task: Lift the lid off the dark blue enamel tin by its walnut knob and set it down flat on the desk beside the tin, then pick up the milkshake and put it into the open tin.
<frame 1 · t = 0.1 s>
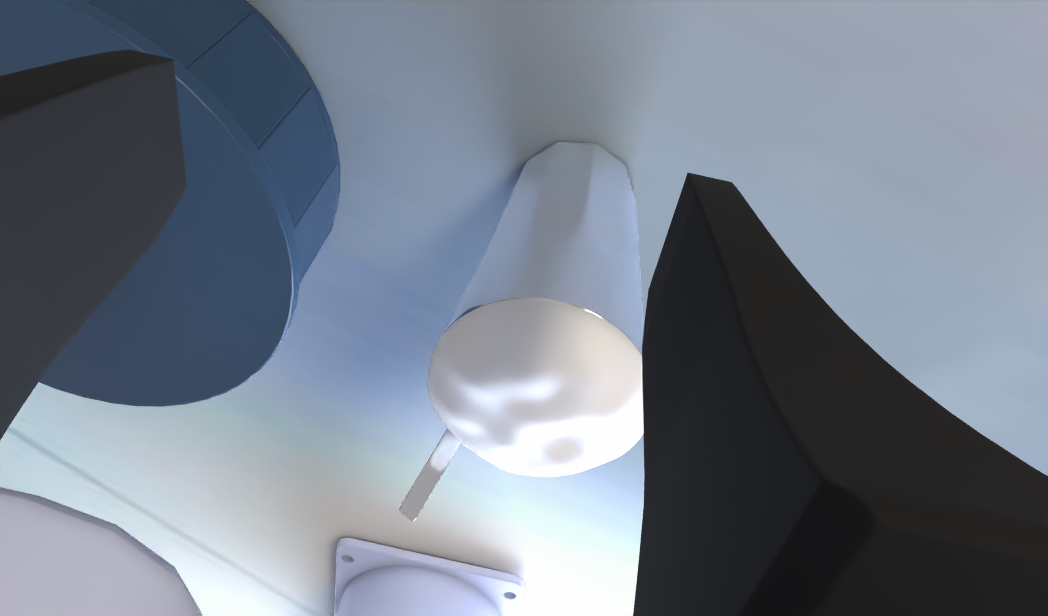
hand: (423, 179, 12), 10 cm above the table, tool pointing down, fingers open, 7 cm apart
milkshake: (564, 195, 23), on the table
lid: (64, 219, 20), point 4 cm above the table, touching tin
tin: (152, 138, 24), on the table
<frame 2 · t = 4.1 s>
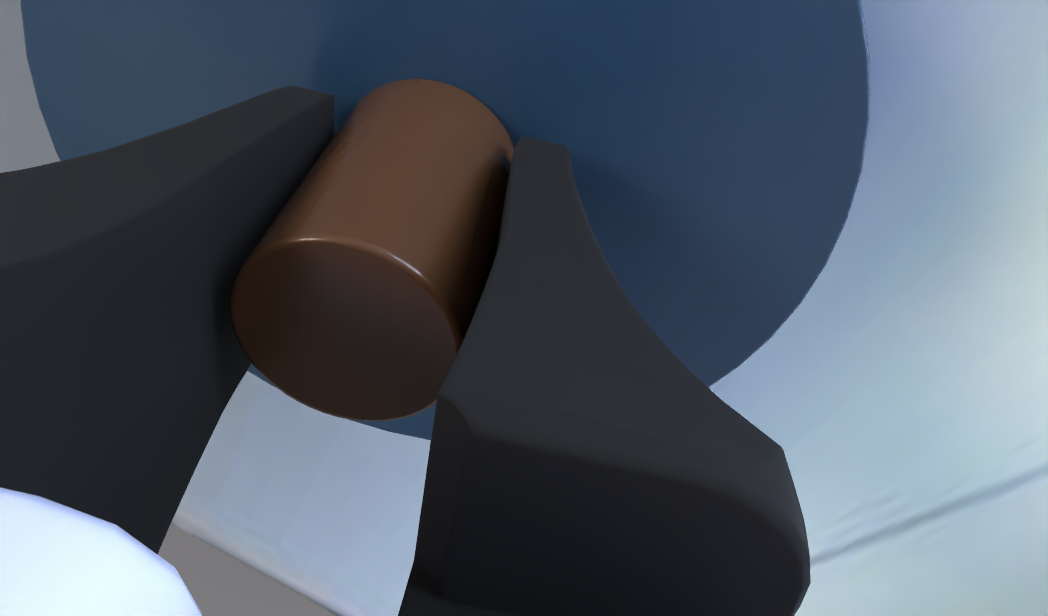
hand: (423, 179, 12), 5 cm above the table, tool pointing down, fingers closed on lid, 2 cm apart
lid: (437, 146, 12), point 4 cm above the table, touching gripper, tin
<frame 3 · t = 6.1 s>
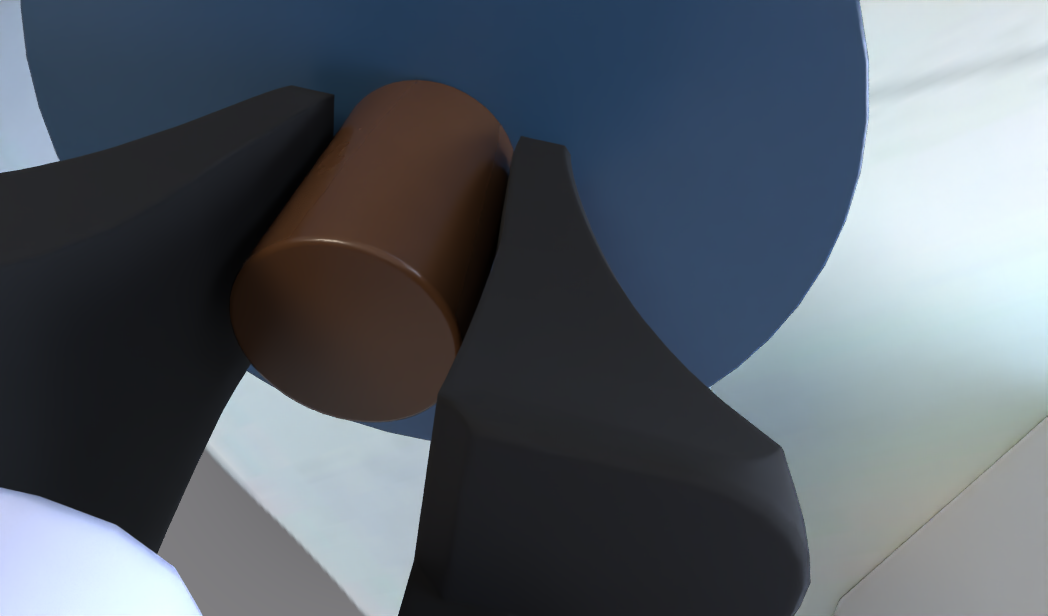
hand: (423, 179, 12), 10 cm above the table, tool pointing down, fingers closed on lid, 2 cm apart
lid: (437, 147, 12), point 9 cm above the table, touching gripper
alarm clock: (1030, 540, 29), on the table
when the fingers open (2 cm above the table, at t = 8.5 s): lid stays where it is, point 1 cm above the table.
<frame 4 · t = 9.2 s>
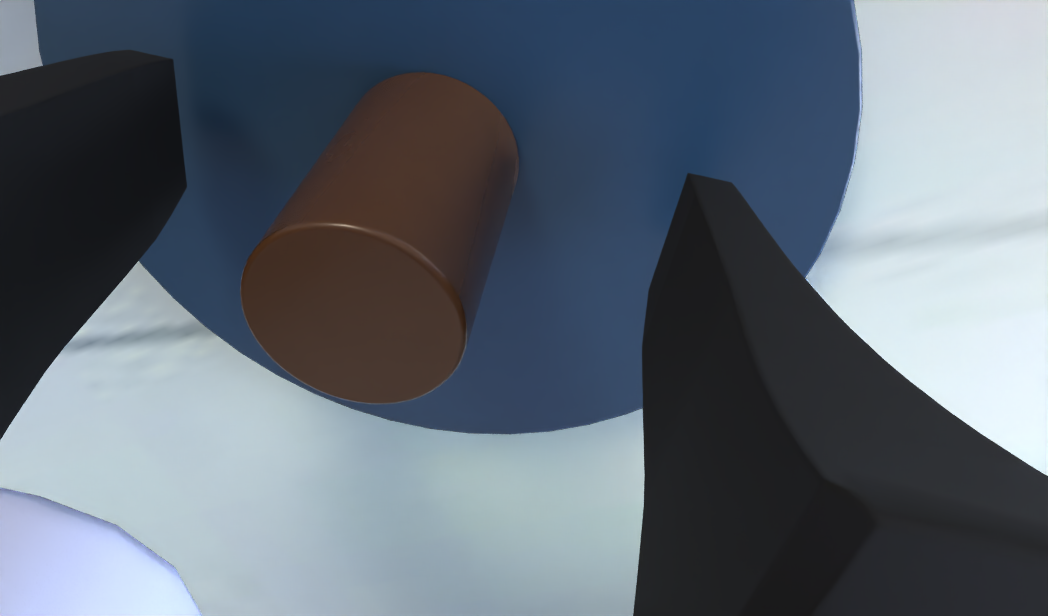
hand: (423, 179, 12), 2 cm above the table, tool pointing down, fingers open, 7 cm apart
lid: (440, 139, 13), point 1 cm above the table
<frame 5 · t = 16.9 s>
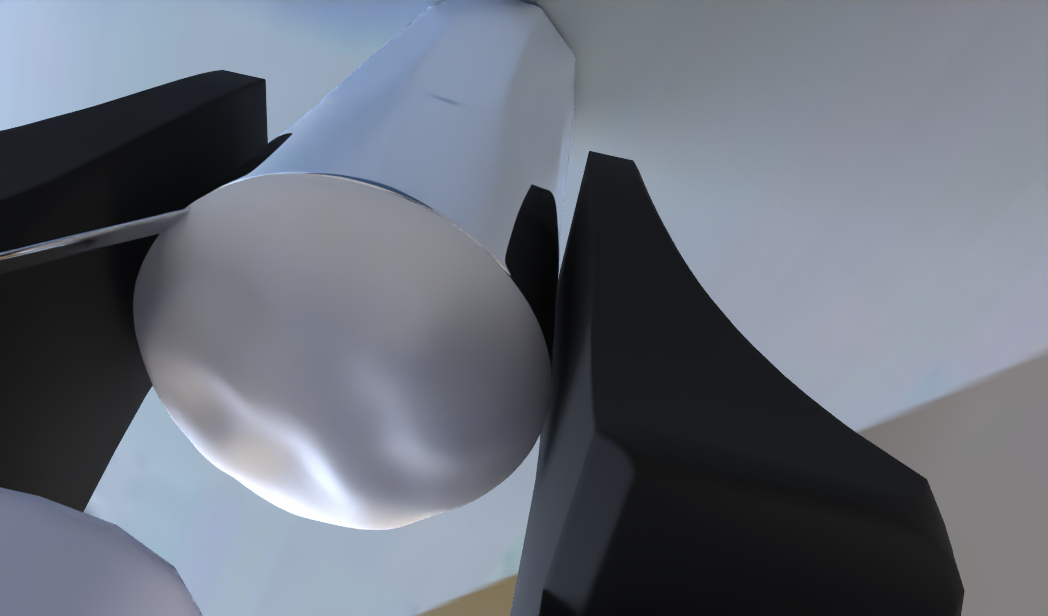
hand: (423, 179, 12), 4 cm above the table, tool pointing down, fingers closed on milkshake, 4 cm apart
milkshake: (479, 55, 15), on the table, touching gripper
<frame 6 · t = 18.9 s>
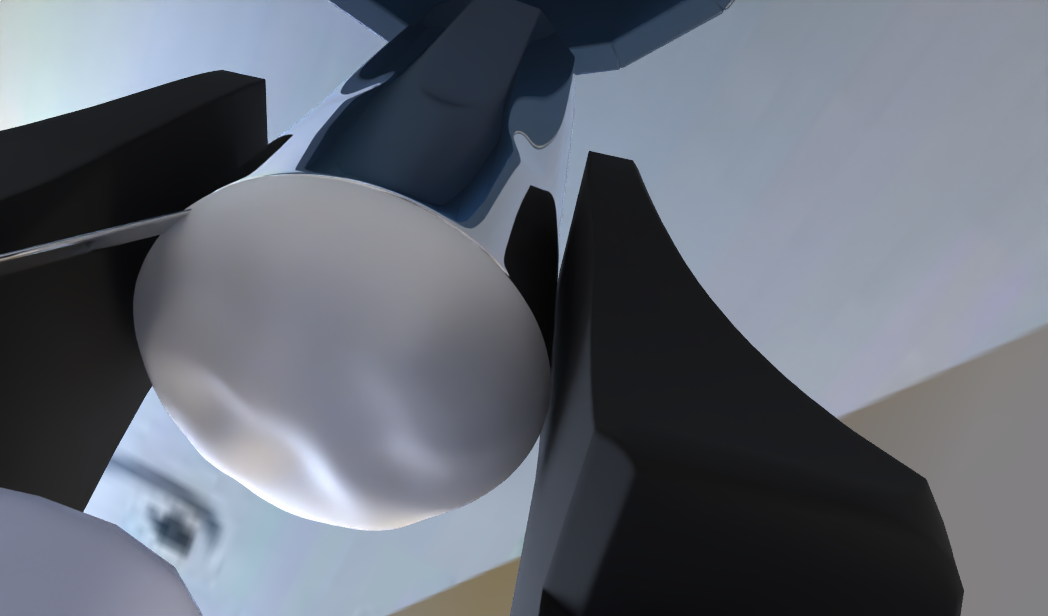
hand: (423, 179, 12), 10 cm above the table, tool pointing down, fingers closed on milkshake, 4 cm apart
milkshake: (479, 56, 15), point 6 cm above the table, touching gripper
when the fingers open (5 cm above the table, at t = 21.2 s): milkshake stays where it is, resting on tin.
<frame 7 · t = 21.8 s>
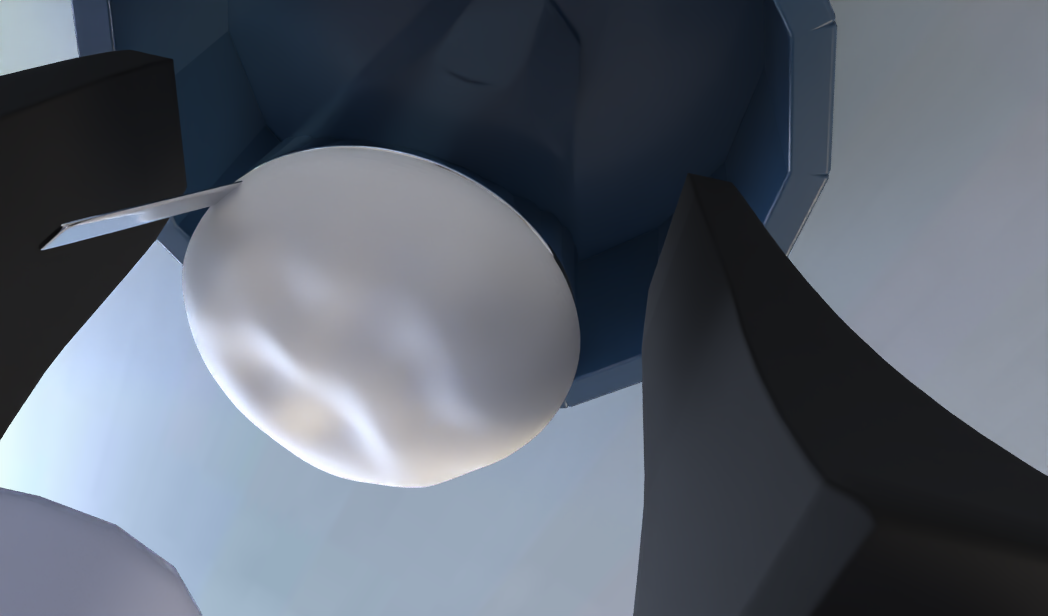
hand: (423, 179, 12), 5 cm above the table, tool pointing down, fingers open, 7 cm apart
milkshake: (486, 42, 16), resting on tin
tin: (491, 39, 16), on the table
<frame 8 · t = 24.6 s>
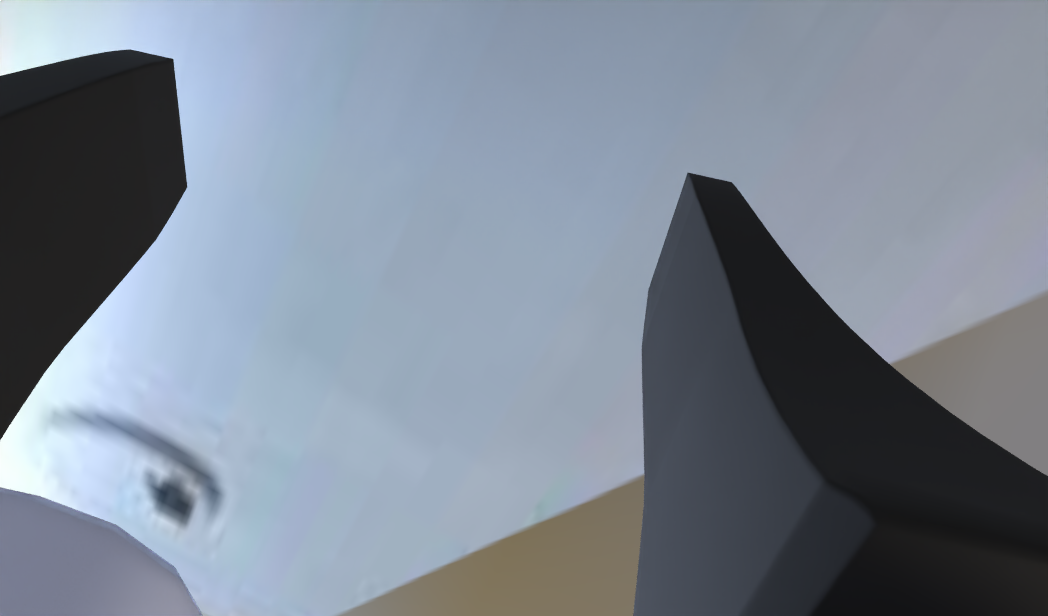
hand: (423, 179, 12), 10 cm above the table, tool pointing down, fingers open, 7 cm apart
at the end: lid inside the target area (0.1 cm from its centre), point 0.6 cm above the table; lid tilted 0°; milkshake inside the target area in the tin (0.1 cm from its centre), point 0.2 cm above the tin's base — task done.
